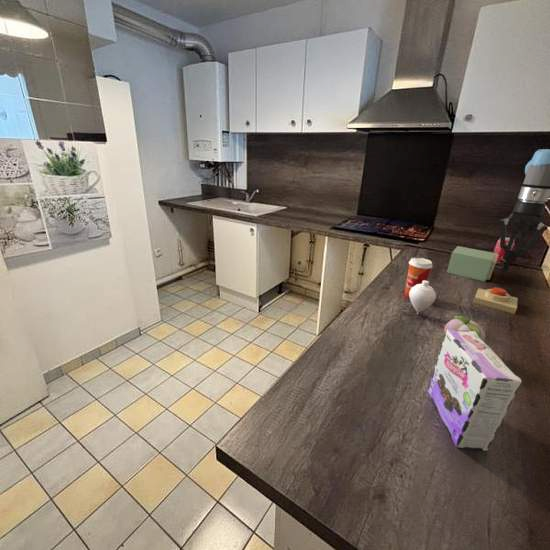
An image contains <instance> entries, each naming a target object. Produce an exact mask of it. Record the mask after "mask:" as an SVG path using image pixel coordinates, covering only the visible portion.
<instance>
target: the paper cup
mask: <svg viewBox="0 0 550 550" xmlns="http://www.w3.org/2000/svg"><path fill="white" fill-rule="evenodd" d="M433 267H434V266H433V262H432V261H431V260H430V259H427V258H423V257H411V258H410V260H409V261H408V270H407V276H406V282H405V290H404V296H405V297H406V298H407V299H410V297H409V292H410V290H411V288H412V287H414V286H415V285H417V284H422V281H424V280H425V281H428V278H429V275H430V272H431V270H432V268H433Z"/></svg>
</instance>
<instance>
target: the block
mask: <svg viewBox="0 0 550 550" xmlns="http://www.w3.org/2000/svg"><path fill="white" fill-rule="evenodd" d="M491 291H492V288H488V289H487V288H486V289H483V288H479V287H478V288H477V291H476V294H475V296H474V299H473V302H472V303H473V304H477V305H481V306H484V307H488V308H491V309H495V310H497V311H498V310H499V311H502V312H506V313H510V314H513V315H515V314H516V312H517V310H518V301H519V299H518V297H515V296H511V295H510V293H508V292H506V294H505V296H498V295H495V294H493V293H491Z"/></svg>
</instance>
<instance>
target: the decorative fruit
mask: <svg viewBox="0 0 550 550" xmlns="http://www.w3.org/2000/svg"><path fill="white" fill-rule="evenodd" d="M446 330H460V331H461V330H462V331H475V332H476V333H477V334H478V336H479V337H480V338H481V339H482V340H483V341H484V342H485V341H486V333H485V330H484V329H483V328H482V326H481V325H480V324H478V323H477V322H475V321H474V320H471V318H470V317H469V318H467V317H464V316H463V315H462V316H461V315H455V316H453V319H451V320H449V321H448V322H447V323H446V324H445V325H444V329H443V331H444V335H445V334H446Z"/></svg>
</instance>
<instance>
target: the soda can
mask: <svg viewBox="0 0 550 550" xmlns="http://www.w3.org/2000/svg"><path fill="white" fill-rule="evenodd" d="M509 239H510V237H505V245H508V242H509ZM500 240H501V237H499V239H498V240H497V242H496V244H495V247H494V250H493V252H492V253H495V255H494V256H498V257H497V260H496V263H497V264H502V265H503V264H504V263H505V261H506V260H503V255H504V253H505V250H504V249H502V248H500ZM515 240H516V239H514V241H513V244H512V246H511V249H510V250H511V251H514V249H515V245H516V242H515Z"/></svg>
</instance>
